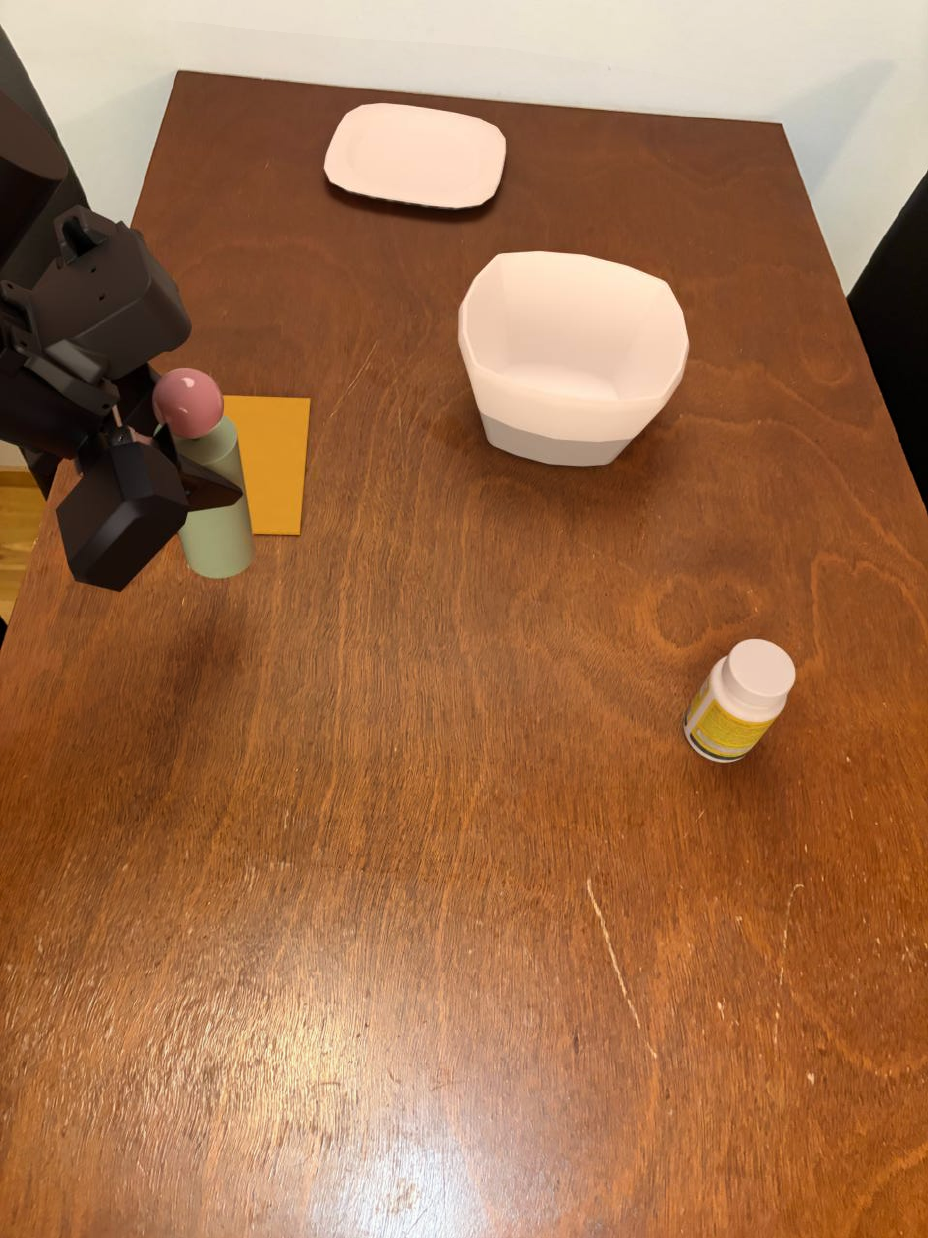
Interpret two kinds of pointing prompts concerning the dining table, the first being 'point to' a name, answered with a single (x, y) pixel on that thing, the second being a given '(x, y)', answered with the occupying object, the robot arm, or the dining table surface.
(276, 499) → the cloth
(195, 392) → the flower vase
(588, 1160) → the dining table surface
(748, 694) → the supplement bottle
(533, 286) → the bowl
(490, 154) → the plate
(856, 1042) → the dining table surface
